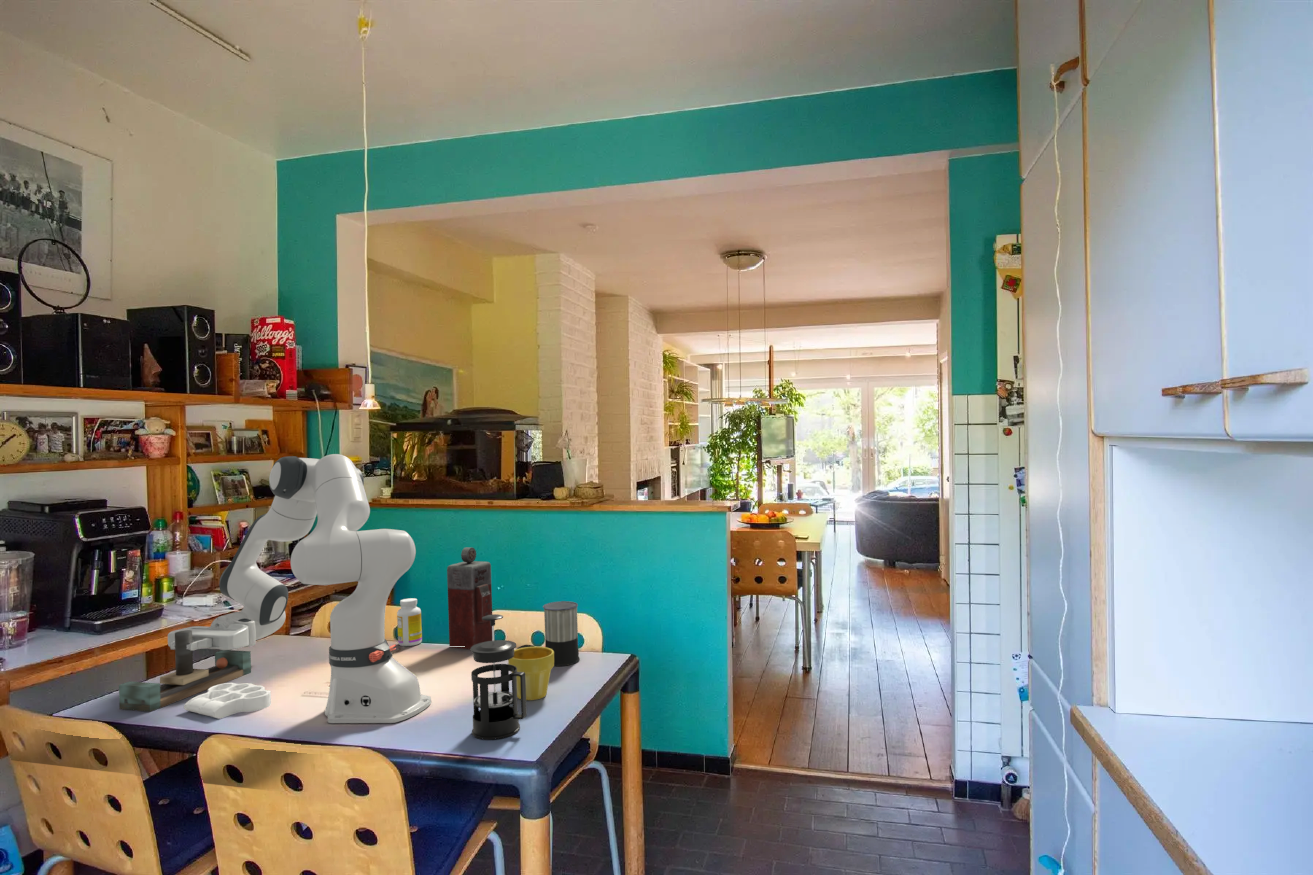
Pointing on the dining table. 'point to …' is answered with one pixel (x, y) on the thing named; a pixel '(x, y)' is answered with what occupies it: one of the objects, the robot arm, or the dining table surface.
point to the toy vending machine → (469, 601)
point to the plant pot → (533, 670)
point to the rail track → (159, 696)
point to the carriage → (183, 662)
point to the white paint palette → (230, 700)
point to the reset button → (221, 663)
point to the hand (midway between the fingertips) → (180, 646)
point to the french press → (495, 706)
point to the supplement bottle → (409, 623)
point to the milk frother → (561, 632)
